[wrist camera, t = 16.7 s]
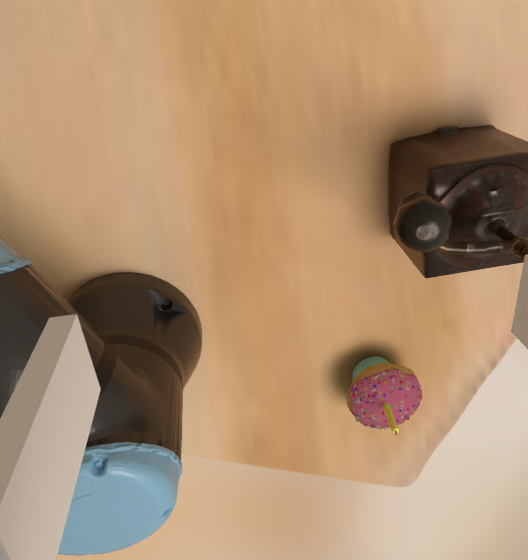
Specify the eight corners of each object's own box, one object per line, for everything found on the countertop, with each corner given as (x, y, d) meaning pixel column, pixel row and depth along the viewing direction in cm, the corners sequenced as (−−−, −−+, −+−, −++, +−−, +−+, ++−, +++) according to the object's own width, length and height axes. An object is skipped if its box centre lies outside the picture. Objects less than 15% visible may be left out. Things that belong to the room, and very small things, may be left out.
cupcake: (324, 372, 61) (349, 448, 50) (380, 329, 59) (420, 399, 48) (365, 409, 64) (397, 487, 54) (420, 370, 62) (464, 444, 52)
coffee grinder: (496, 117, 48) (639, 170, 32) (486, 223, 54) (604, 314, 38) (336, 141, 48) (402, 208, 32) (342, 247, 53) (401, 348, 37)
